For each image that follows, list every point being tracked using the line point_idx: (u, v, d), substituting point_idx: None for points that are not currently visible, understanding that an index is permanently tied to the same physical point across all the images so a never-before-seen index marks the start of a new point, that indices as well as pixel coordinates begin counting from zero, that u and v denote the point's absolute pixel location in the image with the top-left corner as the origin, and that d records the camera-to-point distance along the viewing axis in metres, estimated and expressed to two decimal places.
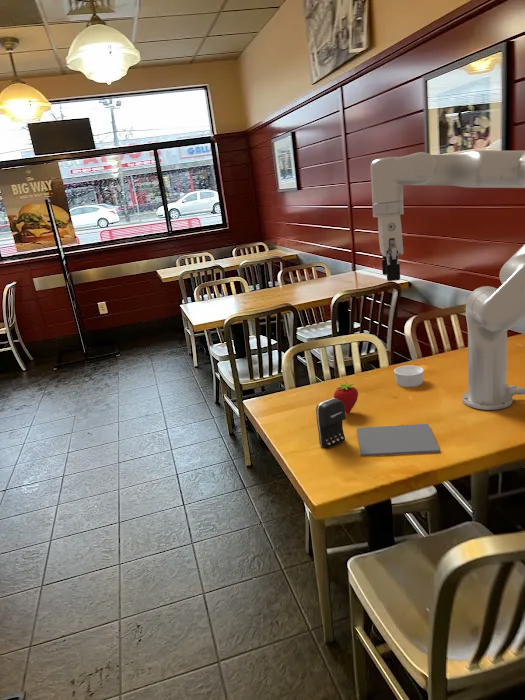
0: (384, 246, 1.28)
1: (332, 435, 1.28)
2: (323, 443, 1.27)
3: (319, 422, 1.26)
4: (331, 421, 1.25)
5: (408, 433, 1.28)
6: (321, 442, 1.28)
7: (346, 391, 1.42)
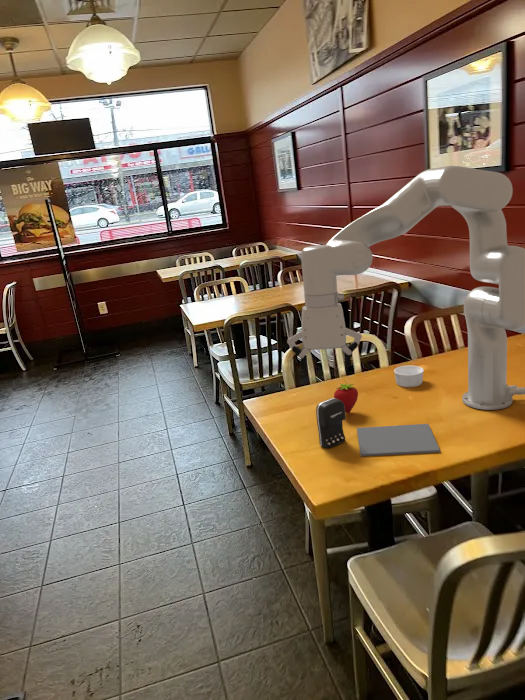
0: (344, 336, 1.19)
1: (332, 435, 1.28)
2: (323, 443, 1.27)
3: (319, 422, 1.26)
4: (331, 421, 1.25)
5: (408, 433, 1.28)
6: (321, 442, 1.28)
7: (346, 391, 1.42)
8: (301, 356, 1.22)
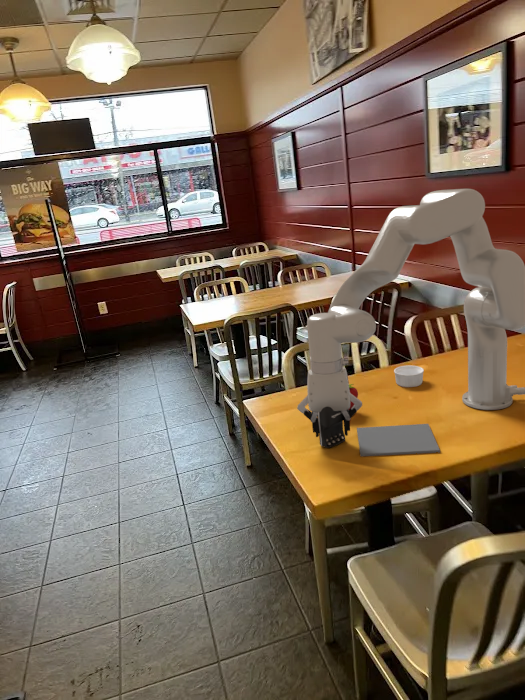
0: (349, 400, 1.23)
1: (332, 435, 1.28)
2: (323, 443, 1.27)
3: (320, 422, 1.26)
4: (332, 421, 1.25)
5: (408, 433, 1.28)
6: (321, 442, 1.28)
7: None
8: (313, 420, 1.26)
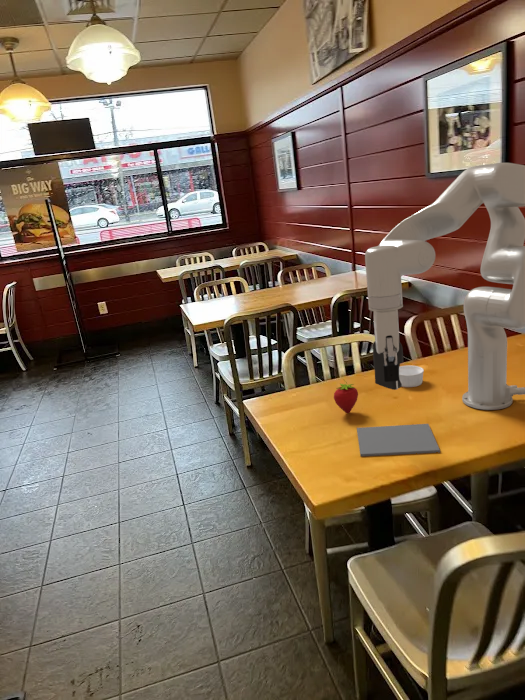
0: None
1: None
2: (399, 383, 1.21)
3: (397, 362, 1.19)
4: None
5: (408, 433, 1.28)
6: (397, 384, 1.20)
7: (346, 391, 1.42)
8: None
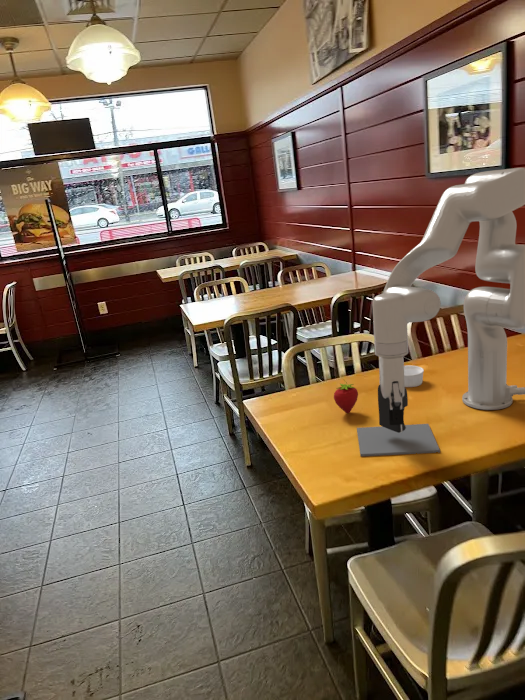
0: None
1: None
2: (403, 426, 1.23)
3: (402, 406, 1.22)
4: None
5: (408, 433, 1.28)
6: (401, 427, 1.23)
7: (346, 391, 1.42)
8: (401, 407, 1.20)
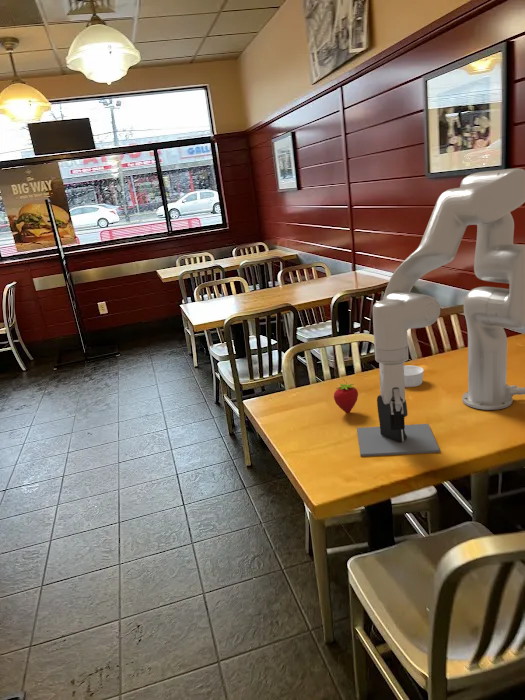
0: None
1: None
2: (404, 436, 1.24)
3: None
4: None
5: (408, 433, 1.28)
6: (402, 437, 1.24)
7: (346, 391, 1.42)
8: (402, 412, 1.19)
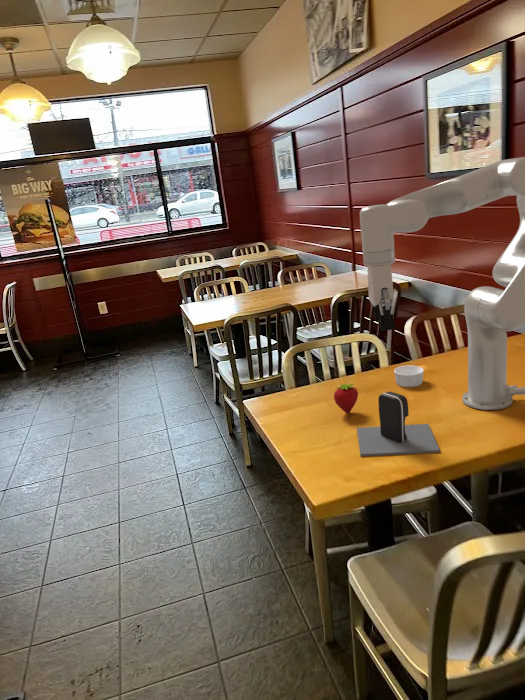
0: None
1: None
2: (405, 436, 1.24)
3: (403, 416, 1.22)
4: None
5: (408, 433, 1.28)
6: (403, 437, 1.24)
7: (346, 391, 1.42)
8: None
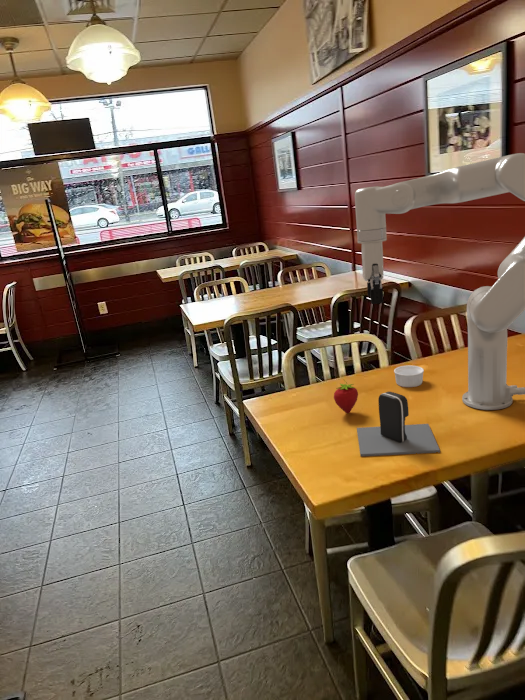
0: None
1: None
2: (405, 436, 1.24)
3: (403, 416, 1.22)
4: None
5: (408, 433, 1.28)
6: (403, 437, 1.24)
7: (346, 391, 1.42)
8: None
